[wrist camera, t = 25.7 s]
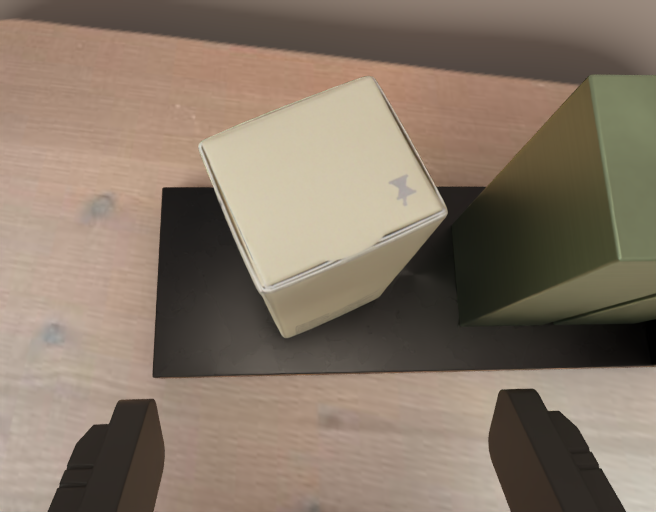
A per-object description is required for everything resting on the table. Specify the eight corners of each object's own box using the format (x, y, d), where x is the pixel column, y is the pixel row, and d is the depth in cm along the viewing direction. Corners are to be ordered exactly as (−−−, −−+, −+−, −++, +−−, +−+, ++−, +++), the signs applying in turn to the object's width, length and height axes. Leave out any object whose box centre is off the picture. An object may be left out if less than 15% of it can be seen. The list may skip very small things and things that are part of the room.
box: (342, 218, 26) (384, 60, 14) (382, 299, 26) (464, 209, 13) (240, 260, 26) (188, 134, 13) (278, 346, 25) (260, 299, 12)
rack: (158, 378, 25) (-6, 360, 12) (167, 195, 27) (38, -4, 14) (656, 366, 27) (1038, 337, 13) (627, 194, 29) (926, 13, 15)
